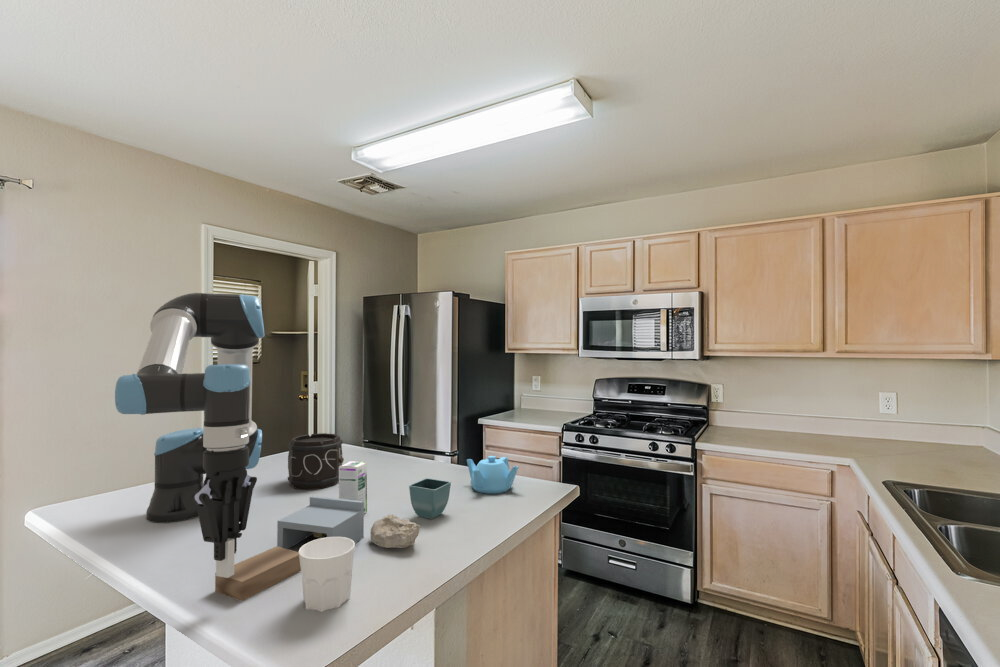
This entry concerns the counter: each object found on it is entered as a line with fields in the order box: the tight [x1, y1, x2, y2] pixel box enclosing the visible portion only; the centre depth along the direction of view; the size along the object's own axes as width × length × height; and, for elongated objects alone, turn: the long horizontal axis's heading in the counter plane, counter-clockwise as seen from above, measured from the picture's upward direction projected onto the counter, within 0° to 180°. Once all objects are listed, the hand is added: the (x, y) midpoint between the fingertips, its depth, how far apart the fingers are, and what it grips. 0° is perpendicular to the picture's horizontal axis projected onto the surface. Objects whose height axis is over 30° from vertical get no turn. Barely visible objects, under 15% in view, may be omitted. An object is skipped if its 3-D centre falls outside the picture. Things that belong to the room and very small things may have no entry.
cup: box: [298, 536, 356, 613], centre depth 93 cm, size 10×10×10 cm
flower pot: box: [408, 477, 452, 520], centre depth 138 cm, size 9×9×9 cm
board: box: [214, 545, 301, 602], centre depth 100 cm, size 8×14×4 cm, turn 153°
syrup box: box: [338, 460, 368, 515], centre depth 138 cm, size 6×6×14 cm
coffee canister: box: [286, 432, 345, 491], centre depth 169 cm, size 18×18×16 cm
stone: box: [370, 513, 421, 549], centre depth 118 cm, size 8×12×10 cm, turn 57°
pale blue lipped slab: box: [276, 495, 365, 550], centre depth 118 cm, size 15×13×9 cm
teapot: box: [466, 455, 519, 495], centre depth 163 cm, size 15×15×11 cm
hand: (225, 574), depth 90 cm, fingers closed
